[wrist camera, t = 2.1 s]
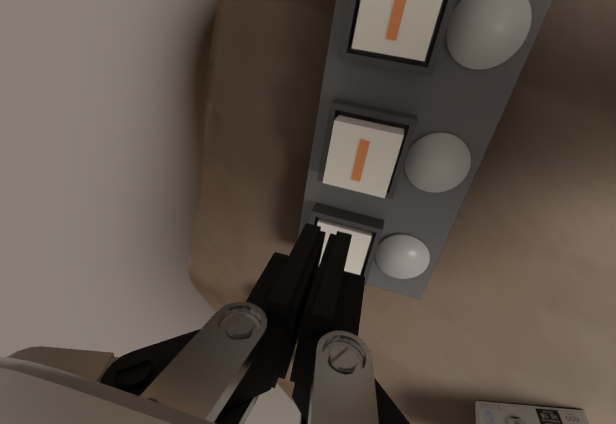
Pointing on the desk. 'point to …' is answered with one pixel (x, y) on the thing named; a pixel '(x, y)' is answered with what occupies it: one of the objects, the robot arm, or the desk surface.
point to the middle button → (362, 155)
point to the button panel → (419, 128)
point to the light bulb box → (526, 414)
